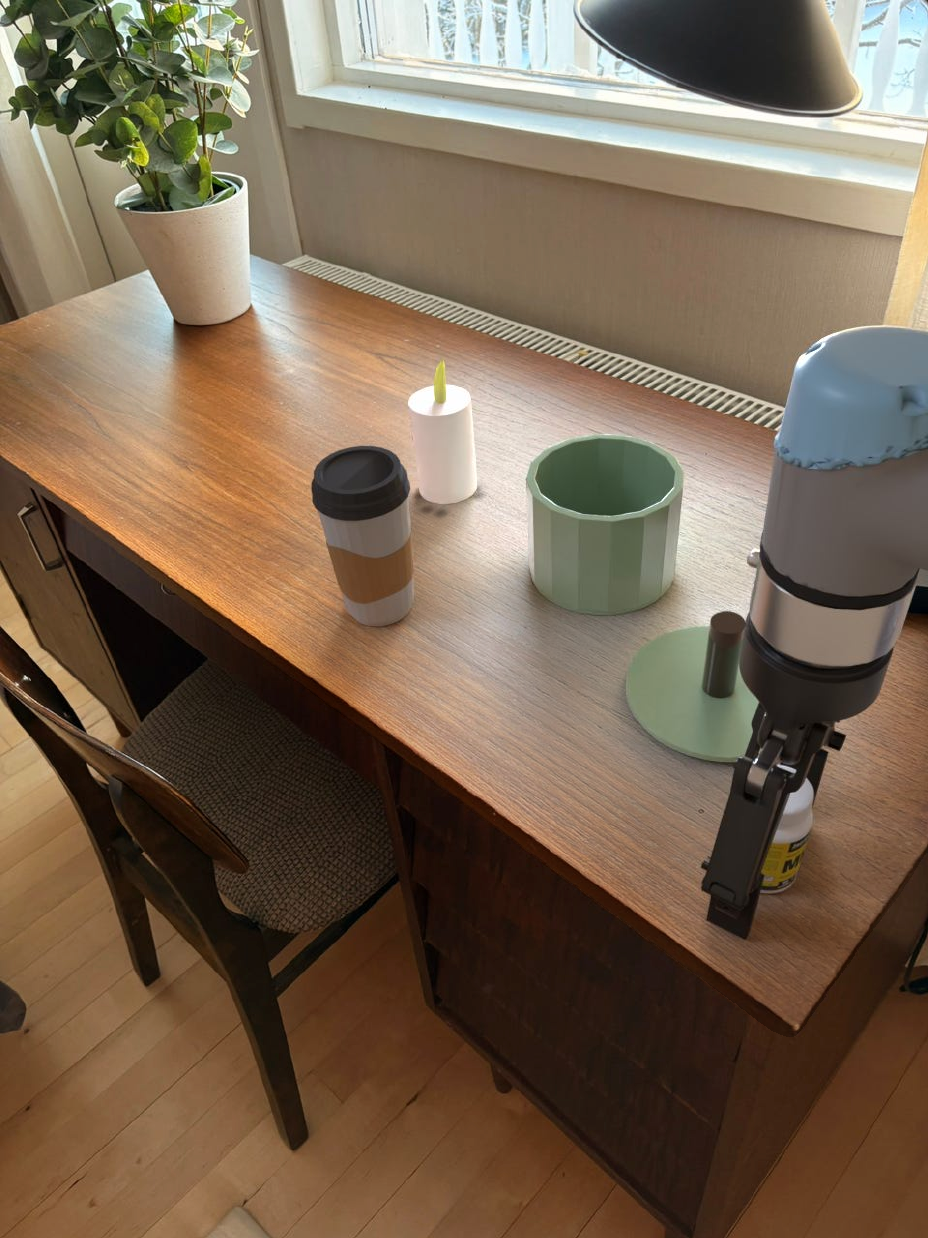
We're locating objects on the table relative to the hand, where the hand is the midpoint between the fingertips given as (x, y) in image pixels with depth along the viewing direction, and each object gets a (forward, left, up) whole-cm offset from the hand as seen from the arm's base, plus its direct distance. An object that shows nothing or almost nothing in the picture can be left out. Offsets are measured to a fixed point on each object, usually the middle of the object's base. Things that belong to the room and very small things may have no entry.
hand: (761, 863), depth 64 cm
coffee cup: (+40, -8, 0) cm, 41 cm away
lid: (+9, -13, 0) cm, 16 cm away
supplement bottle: (0, 0, 0) cm, 0 cm away
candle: (+46, -27, 0) cm, 53 cm away
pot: (+25, -23, 0) cm, 34 cm away
